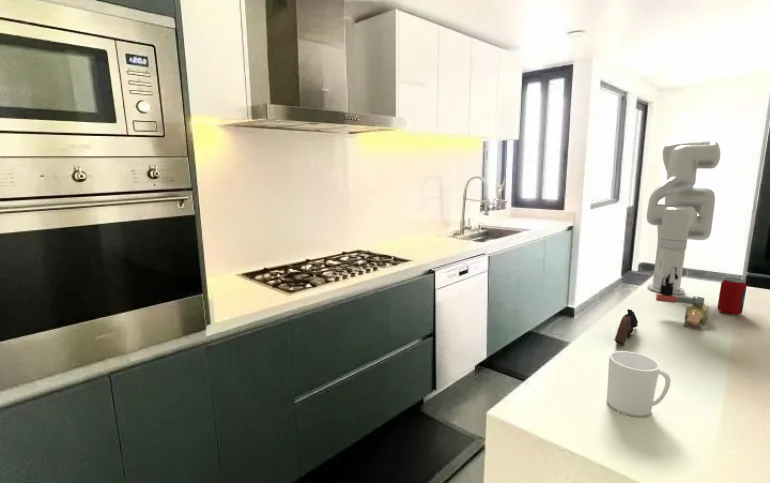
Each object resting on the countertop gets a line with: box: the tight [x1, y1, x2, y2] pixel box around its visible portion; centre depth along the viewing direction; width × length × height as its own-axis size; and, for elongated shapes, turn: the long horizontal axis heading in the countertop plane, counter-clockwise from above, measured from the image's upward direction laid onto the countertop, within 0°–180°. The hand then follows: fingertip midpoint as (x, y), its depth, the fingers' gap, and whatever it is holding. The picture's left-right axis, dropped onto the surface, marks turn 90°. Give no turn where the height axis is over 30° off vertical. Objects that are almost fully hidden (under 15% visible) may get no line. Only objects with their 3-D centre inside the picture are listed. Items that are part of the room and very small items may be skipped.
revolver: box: [614, 308, 639, 346], centre depth 120 cm, size 3×18×12 cm
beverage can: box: [716, 277, 747, 316], centre depth 141 cm, size 7×7×12 cm
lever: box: [655, 292, 705, 307], centre depth 135 cm, size 13×3×3 cm, turn 68°
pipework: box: [683, 303, 709, 331], centre depth 134 cm, size 22×5×5 cm, turn 138°
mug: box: [606, 350, 672, 418], centre depth 84 cm, size 11×9×10 cm
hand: (665, 296), depth 139 cm, fingers closed
